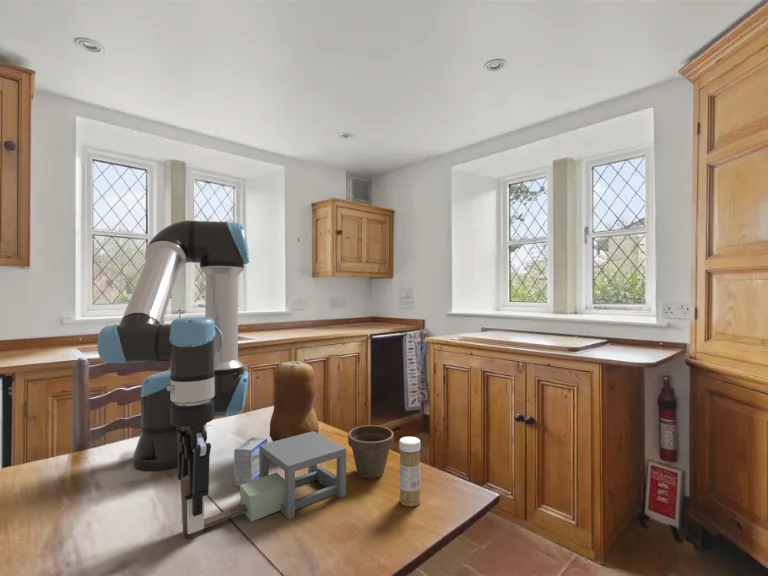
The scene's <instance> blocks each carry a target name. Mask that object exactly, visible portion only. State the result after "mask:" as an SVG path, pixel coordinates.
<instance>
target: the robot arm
mask: <svg viewBox="0 0 768 576" xmlns="http://www.w3.org/2000/svg"><path fill="white" fill-rule="evenodd" d="M246 233H247V232H246V229H245V227H244V225H242V224H241V223H238V222H231V221H230V222H229V221H208V220H207V221H206V220H203V221H201V220H200V221H199V220H183V221H182V220H181V221H177V222H174V223H172V224H170V225H167V226H166V227H165V228H163V229H162V230H160V231H159V232H158V233H157V234H155V235H154V236H153V237H152V239H151V240H150V242H149V243H148V245H147V247H146V249H145V252H144V256H145V259H146V261H145V264H144V266H143V268H142V270H141V273H140V276H139V278H138V280H137V282H136V283H135V284H136V285H135V286H134V290H133V291H132V294H131V296H130V300H129V301H128V304H127V306H126V308H125V311H124V313H123V316H122V319H121V320H120V322H119V324H113V325H107V326H105V327H102V329H101V330H100V332H99V334H98V336H97V342H96V343H97V344H96V345H97V349H96V350H97V352H98V353H97V354H98V356H99V358H100V359H101V361H102V362H105V363H108V364H109V363H110V364H128V363H130V364H131V363H133V364H134V363H147V362H169V363H170V364H169V365H170V367H169V368H170V369H168V370H165V371H160V372H156V373H153V374H151V375H148V376H147V377H145V378H144V379H143V380H142V382H141V392H140V395H139V396H140V429H141V430H140V436H139V438H138V442H137V444H136V448H135V450H134V452H133V457H132V459H133V460H132V462H133V463H132V466H133V467H134V468H135V469H137V470H140V471H147V472H148V471H151V472H152V471H162V470H169V469H173V468H177V480H178V481H180V483H179V484H180V486H181V478H182V477H184V476H186V475H188V477H189V495H187V496H185V500H187V533H188V534H191V533H193V532H196V531H199V530H201V529H202V530H203V529H205V528H204V519H205V496H208V495H209V493H210V491H209V489H210V486H209V484H210V483H209V482H210V458H211V457H210V456H211V448H212V444H211V442H207V440H208V432H207V430H205V425H206V424H207V423H210V422H211V421H213V420H214V418H215V417H227V416H233V415H235V416H236V415H239V414H241V413H242V412H243V410H244V408H245V403H246V398H247V392H248V384H249V374H250V373H249V372H248V371H247V370H244V364H243V363H242V362H241V361H239V357H238V356H239V355H238V354H239V352H238V351H239V275H240V274H242V273H243V272H244V271H245V265H248V264H249V263H250V254H249V247H248V246H249V244H248V239H247V234H246ZM186 263H199V269H200V271H201V272H202V273H204V275H205V299H204V300H205V304H204V305H205V310H204V311H205V312H204V313H205V314H204V315H205V316H192V317H189V316H188V317H179V318H178V317H177V318H174V319H173V320H172V321H171V322H170V324H163V321H164V318H165V314H166V312H167V308H168V305H169V301H170V299H171V296H172V292H173V291H174V290H173V289H174V286H175V283H176V280H177V276H178V273H179V270H181V269H183V268H184V266H186V265H185V264H186ZM180 502H181V504H180V505H181V508H180V509H181V514H180V515H181V516H180V517H181V519H180V520H181V521H180V523H181V524H182V526H183V522H182V501H180Z"/></svg>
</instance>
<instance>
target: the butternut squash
mask: <svg viewBox="0 0 768 576" xmlns="http://www.w3.org/2000/svg"><path fill="white" fill-rule="evenodd" d="M273 379H274V380H273V381H274V398H273V399H274V401H273V411H272V414H271V418H270V421H269V437H270V439H271V442H273V441H277V440H281V439H285V438H289V437H293V436H297V435H300V434H304V433H308V432H312V431H315V432H317V433H318V434H319V432H320V431H319V429H320V428H319V427H320V426H319V420H318V416H317V413H316V411H315V408H314V398H315V394H316V383H315V381H316V378H315V371H314V368H313V367H312V366H311V365H310V364H307V363H304V362H302V361H297V360H294V361H287V362H282V363H280V364H278V366H277V367H276V369H275V374H274V378H273Z"/></svg>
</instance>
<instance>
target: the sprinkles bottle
mask: <svg viewBox="0 0 768 576" xmlns="http://www.w3.org/2000/svg"><path fill="white" fill-rule="evenodd" d="M398 445H399V447H398V448H399V489H400V490H399V502H400V504H401V505H403V506H405V507H409V508H410V507H416V506H418V505H420V503H421V495H420V494H421V459H420V458H421V453H420V452H421V447H422V446H421V439H419V438H418V437H415V436H403V437H401V438H400V439H399V443H398Z"/></svg>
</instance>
